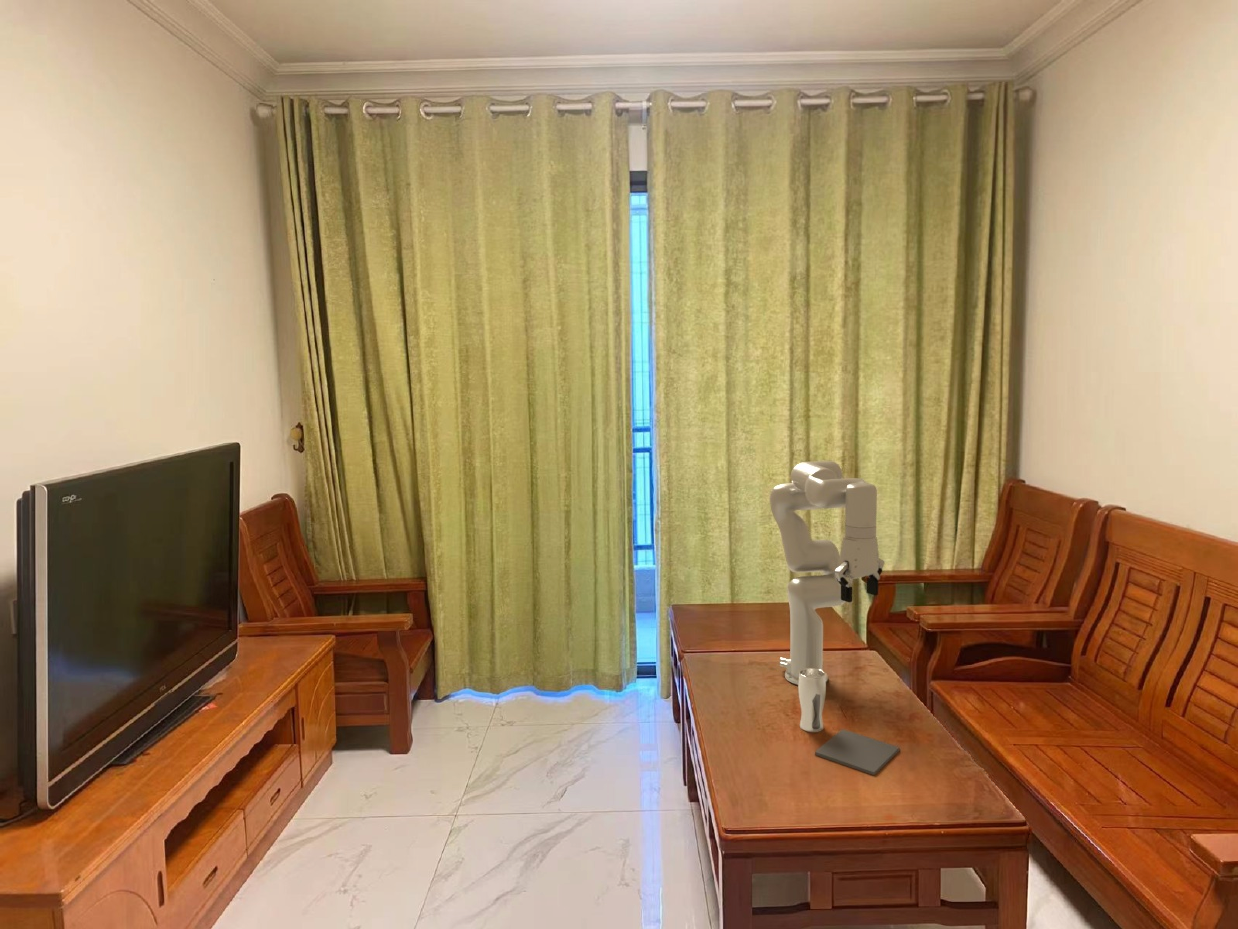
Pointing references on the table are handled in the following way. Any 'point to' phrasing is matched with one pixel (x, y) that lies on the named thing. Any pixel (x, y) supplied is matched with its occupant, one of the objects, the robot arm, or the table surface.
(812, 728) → the beer glass
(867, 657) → the table surface
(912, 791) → the table surface
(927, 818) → the table surface
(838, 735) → the charcoal mat
